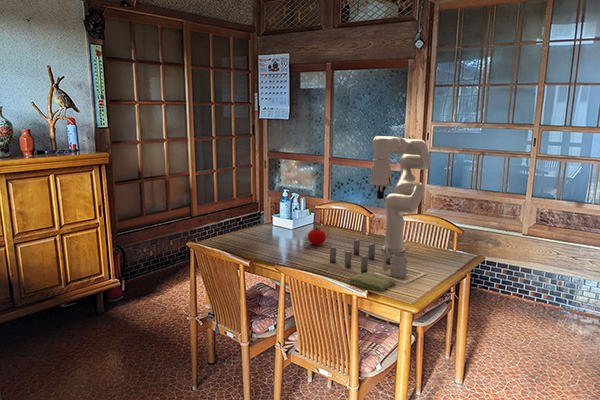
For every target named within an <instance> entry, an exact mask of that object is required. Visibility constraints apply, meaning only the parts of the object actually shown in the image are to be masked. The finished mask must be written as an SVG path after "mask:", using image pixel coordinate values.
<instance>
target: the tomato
mask: <svg viewBox="0 0 600 400" xmlns="http://www.w3.org/2000/svg"><path fill="white" fill-rule="evenodd" d="M321 228H322V227H319V228H318V227H315V228H314V227H312V228H311V230H309V232H308V233H307V241H308V242H309V243H310V244H311V245H314V246H320V245H322V244H324V243H325V241H326V239H327V235H326V232H325V231H324V230H322V229H321Z"/></svg>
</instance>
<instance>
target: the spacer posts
mask: <svg viewBox="0 0 600 400" xmlns="http://www.w3.org/2000/svg"><path fill="white" fill-rule="evenodd" d="M360 244H361V240H360V239H359V238H355V239H353V249H352V250H353V253H352V250H345V251H344V268H345V269H351V268H352V257H353V256H359V255H360V251H361V249H360V248H361V246H360ZM386 249H387V250H388V251H389V254H390V255H392V253H391V247H385V251H384V254H383V255H384V256H385V254H386ZM375 250H376V243H374V242H368V254H361V259H360V272H361V273H360V274H362V273H369V271H368V269H369V267H368V266H369V265H368V264H369V260H375V257H376V256H375V254H376V251H375ZM352 255H353V256H352ZM384 256H383V257H384ZM391 261H392V259H391V257H388V259H387V260H386V265H390V264H392V262H391ZM329 263H330V264H335V263H337V246H335V245H331V246H330V247H329Z"/></svg>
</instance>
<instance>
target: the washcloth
mask: <svg viewBox="0 0 600 400" xmlns="http://www.w3.org/2000/svg"><path fill="white" fill-rule="evenodd" d="M393 278H394V277H392V278H387V277H384V276H379V275H375V274H373V273H371V272H367V273H358V274H356V275H354V276H351V277H349V278H348V280H349V282H350V284H351V285H352V284H353V285H355V286H359V285H360V286H359V287H363V288H366V287H368V288H367V289H370V288H372V289H371V290H374V289H376V290H375V291H377V290H379V291H378V292H383V291H384V290H387V289H388V288H390V286H391V287H392V285H393V286H395V284H396V281H395V280H394V279H393Z"/></svg>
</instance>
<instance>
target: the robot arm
mask: <svg viewBox="0 0 600 400" xmlns="http://www.w3.org/2000/svg"><path fill="white" fill-rule="evenodd" d="M371 146H372V148H373V151H374V156H373V157H374V158H373V159H372V162H373V164H372V166H371V171H370V180H369V182H370V183H369V184H371V186H372V187H374V188H375V190H376V191H377V192H376V199H377V200H383V199H385V200H384V206H385V215H386V216H385V236H384V237H385V238H384V245H382V246H381V249H382V251H384V252H385V247H391V254H392V253H393V254H395V253H404V252H406V247H405V246H404V245H405V244H407V240H405V239H404V223H405V222H404V221H405V219H404V216H403V214H402V213H407V214H409V213H410V214H412V213H416V210H417V209H418V207H419V205H420V204H421V201H422V199H423V197H424V192H425V186H424V184H423V183H422V182H420V181H416V175H415V174H414V172H413V170H422V171H423V170H428V169H429V168H430V167H431V162H432V161H431V160H432V159H431V155H430V152H429V148H428V145H427V143H426V141H425V140H423V139H412V138H411V139H410V138H404V137H396V136H385V135H382V136H381V135H376V136H375V137H373V139H372V143H371ZM391 154H400V155H402V156H401V157H400V159H399V165H400V166H399V167H400V169H399V170H400V176H399V178H398V180H397V182H396V184H395V186H394V188H393V192H394V193H393V192H391V193H389V194H387V195H386V197H385V191H386V190H387V189H390V188H391V185H392V169H391V168H392V167H391V165H390V157H391ZM412 169H413V170H412ZM384 197H385V198H384Z"/></svg>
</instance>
